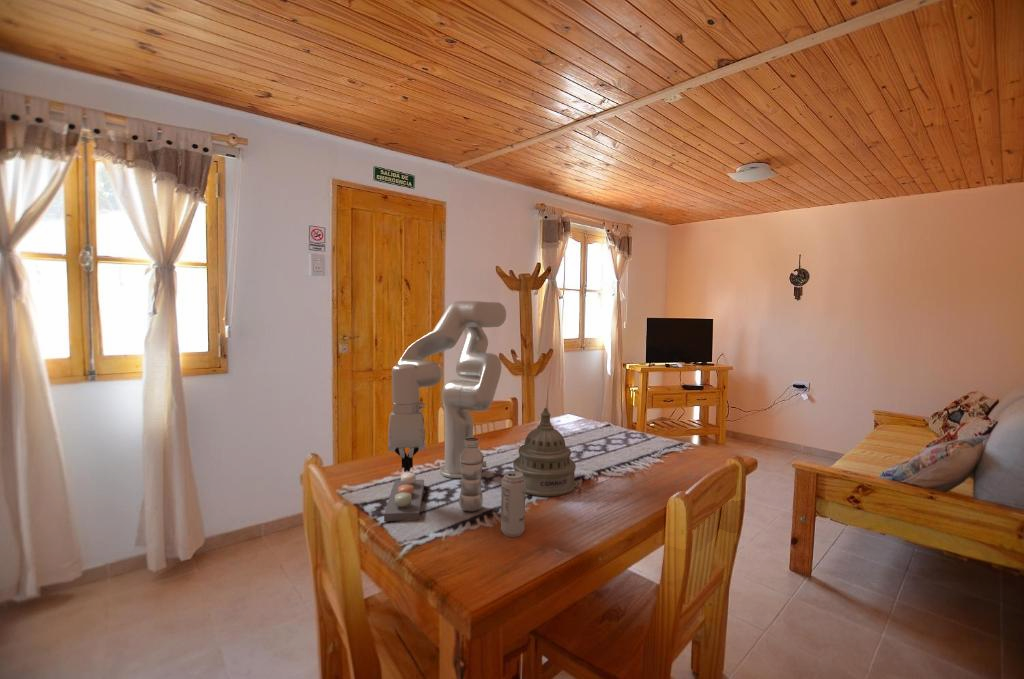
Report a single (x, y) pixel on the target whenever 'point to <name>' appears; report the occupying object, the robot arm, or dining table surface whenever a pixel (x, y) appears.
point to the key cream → (408, 478)
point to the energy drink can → (513, 504)
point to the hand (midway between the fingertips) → (407, 469)
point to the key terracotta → (406, 489)
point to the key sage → (403, 499)
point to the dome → (546, 461)
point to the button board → (404, 511)
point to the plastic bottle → (471, 476)
